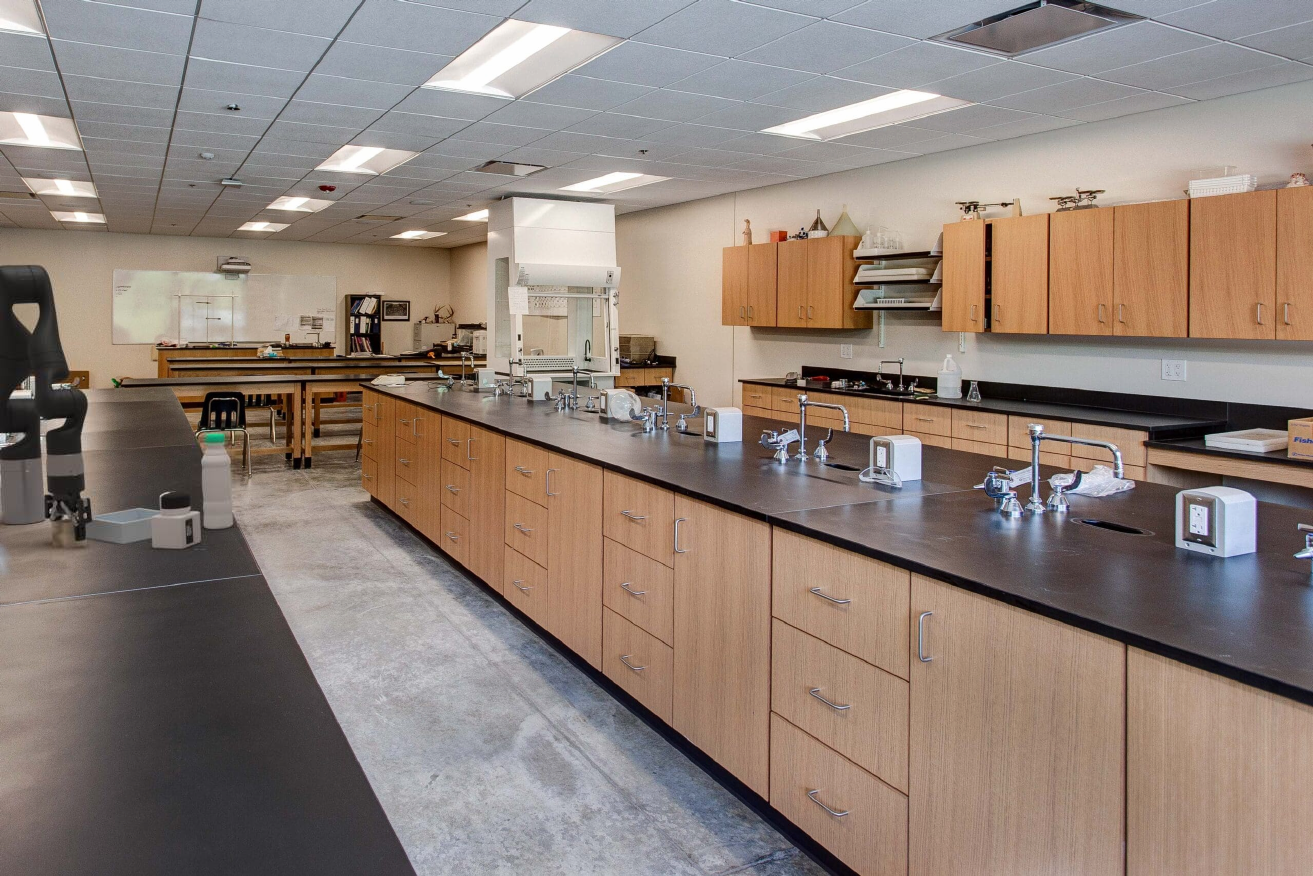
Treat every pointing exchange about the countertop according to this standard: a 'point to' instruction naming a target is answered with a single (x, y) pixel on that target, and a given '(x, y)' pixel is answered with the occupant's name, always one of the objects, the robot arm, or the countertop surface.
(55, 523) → the maple block
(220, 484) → the water bottle
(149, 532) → the gray bin
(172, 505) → the container
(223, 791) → the countertop surface
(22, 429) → the robot arm
